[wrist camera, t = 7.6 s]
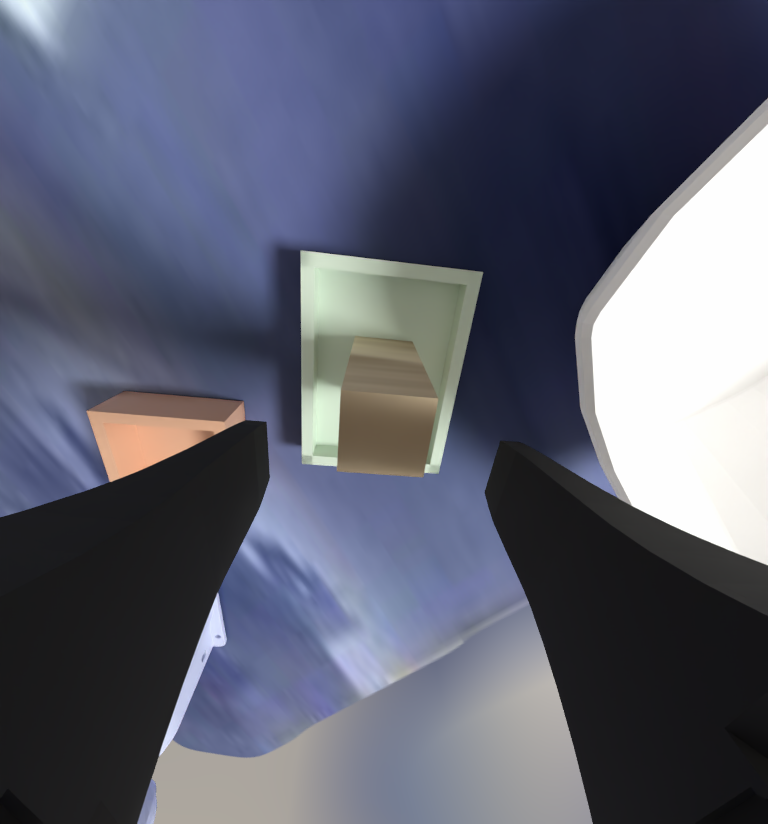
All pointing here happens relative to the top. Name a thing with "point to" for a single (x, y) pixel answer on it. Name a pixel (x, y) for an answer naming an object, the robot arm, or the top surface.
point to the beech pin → (385, 409)
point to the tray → (378, 335)
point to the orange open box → (156, 427)
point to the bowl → (689, 353)
